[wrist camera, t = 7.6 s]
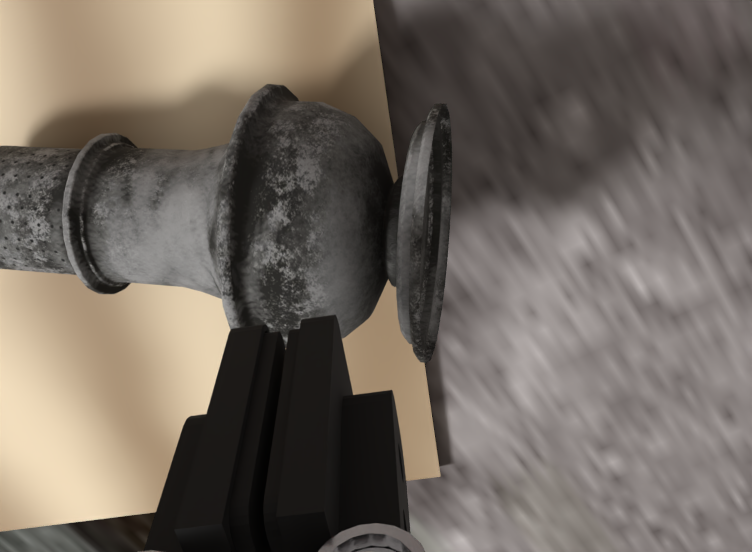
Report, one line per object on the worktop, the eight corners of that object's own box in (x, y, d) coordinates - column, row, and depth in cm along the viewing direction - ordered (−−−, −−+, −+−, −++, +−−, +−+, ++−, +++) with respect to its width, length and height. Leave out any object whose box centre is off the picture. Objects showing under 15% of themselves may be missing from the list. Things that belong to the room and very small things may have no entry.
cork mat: (331, -293, 14) (330, -297, 13) (439, 467, 23) (440, 476, 23) (-443, -151, 15) (-462, -152, 14) (-28, 526, 24) (-33, 535, 24)
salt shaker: (438, 30, 12) (-149, 25, 14) (406, 373, 11) (-214, 312, 14) (458, 146, 18) (34, 130, 20) (437, 380, 17) (-3, 336, 19)
